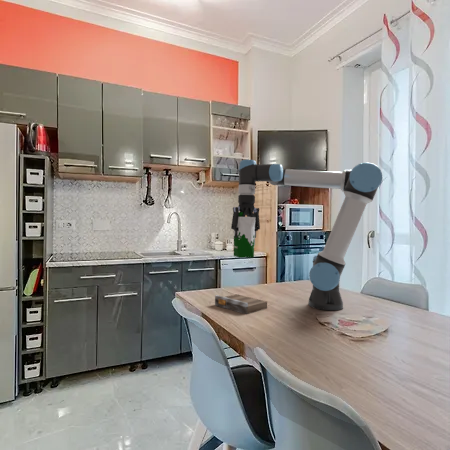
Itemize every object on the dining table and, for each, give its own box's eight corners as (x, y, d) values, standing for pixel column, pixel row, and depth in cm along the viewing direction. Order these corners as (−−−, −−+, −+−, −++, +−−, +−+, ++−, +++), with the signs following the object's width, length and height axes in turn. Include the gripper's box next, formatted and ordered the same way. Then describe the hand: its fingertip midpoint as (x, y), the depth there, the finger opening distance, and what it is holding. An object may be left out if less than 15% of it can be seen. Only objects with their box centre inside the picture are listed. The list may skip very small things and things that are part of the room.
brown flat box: (267, 308, 145) (267, 298, 145) (244, 314, 135) (244, 303, 135) (236, 300, 159) (236, 291, 159) (214, 305, 149) (214, 295, 149)
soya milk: (231, 255, 151) (231, 212, 151) (249, 255, 154) (250, 212, 154) (237, 257, 143) (238, 212, 142) (256, 257, 146) (257, 212, 145)
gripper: (233, 192, 139) (232, 246, 140) (269, 195, 151) (267, 245, 152) (223, 193, 145) (222, 245, 146) (258, 196, 157) (257, 244, 158)
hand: (245, 245), depth 149 cm, fingers open, 7 cm apart
